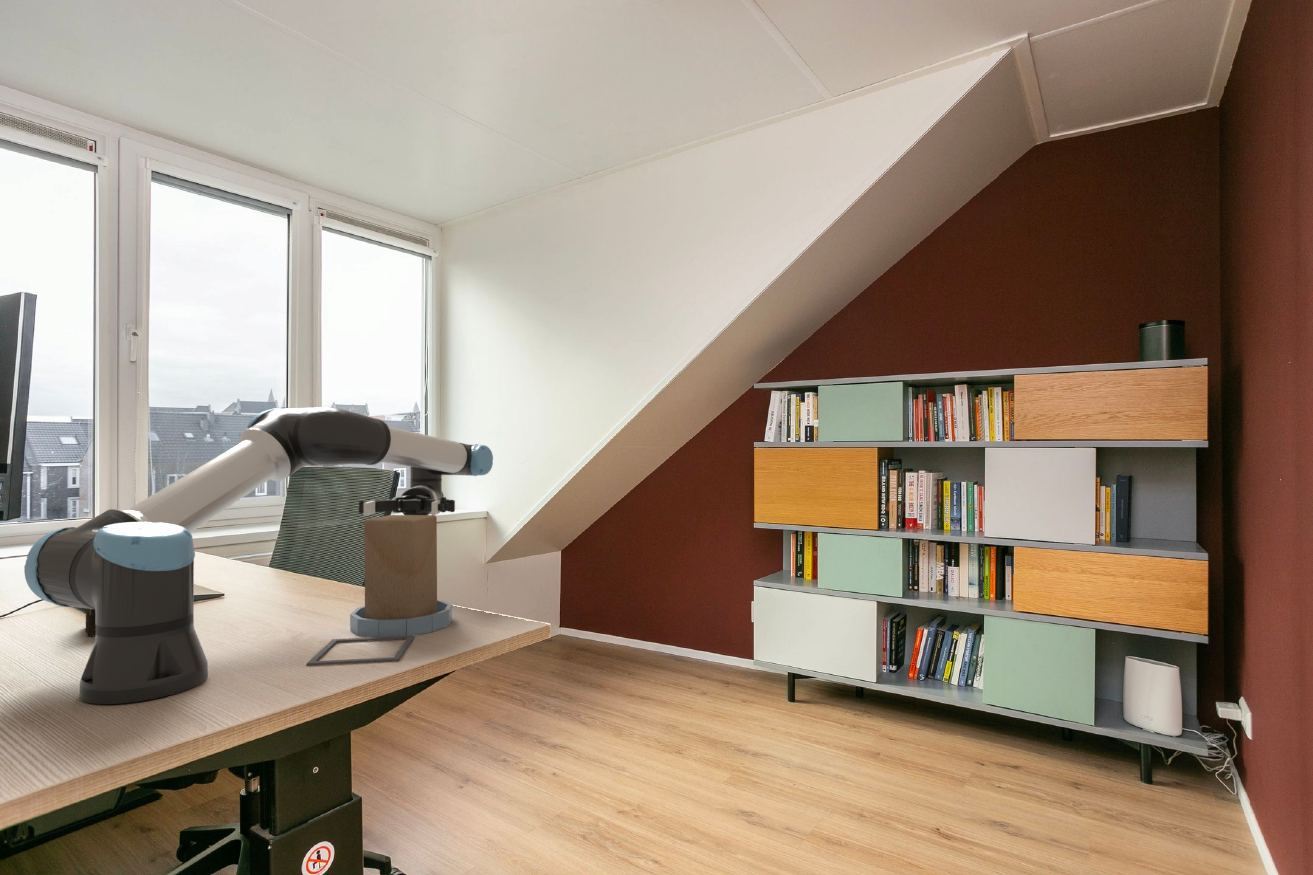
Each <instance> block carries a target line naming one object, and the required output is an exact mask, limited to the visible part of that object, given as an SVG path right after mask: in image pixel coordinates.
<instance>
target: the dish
mask: <svg viewBox="0 0 1313 875" xmlns="http://www.w3.org/2000/svg"><path fill="white" fill-rule="evenodd" d="M349 616H350V617H349V618H350V619H349V620H350V621H349V629H350V631H351V632H352V633H354V634H355V635H357V636H361V637H366V638H369V637H390V636H411V635H415V636H417V635H423V634H427V633H429V634H430V633H433V632H437V631H438V630H439V631H440V630H441V629H444V628H446V627H448V626H450V624H451V623H452V621H453V604H452V603H450V602H447V601H445V600H443V599H437V613H434V614H431V615H427V616H421V617H415V618H409V619H393V620H376V619H366V618H365V605H364V606H359V607H357V608H355V609H354V610H352V612H351V613H350V614H349Z"/></svg>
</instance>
